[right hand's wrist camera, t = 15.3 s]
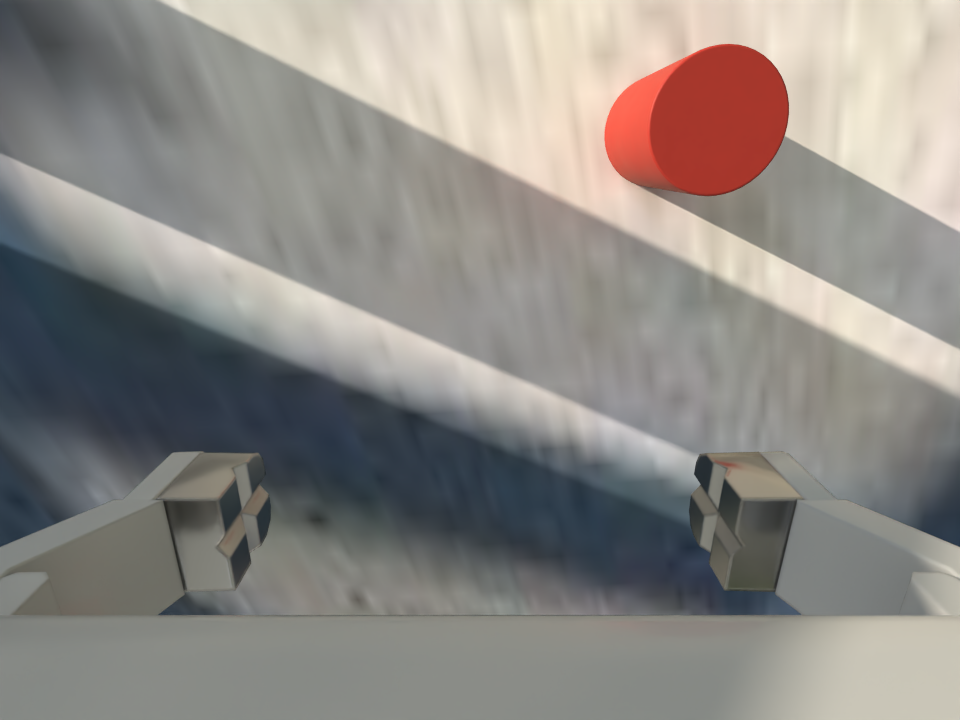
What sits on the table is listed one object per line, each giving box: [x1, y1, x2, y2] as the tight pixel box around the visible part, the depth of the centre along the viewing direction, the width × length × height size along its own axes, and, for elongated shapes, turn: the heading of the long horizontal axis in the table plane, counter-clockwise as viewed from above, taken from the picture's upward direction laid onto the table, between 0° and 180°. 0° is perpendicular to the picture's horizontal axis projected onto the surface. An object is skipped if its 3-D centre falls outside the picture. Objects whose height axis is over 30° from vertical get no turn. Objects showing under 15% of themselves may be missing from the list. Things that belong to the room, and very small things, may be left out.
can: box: [605, 44, 789, 196], centre depth 23 cm, size 5×5×7 cm
